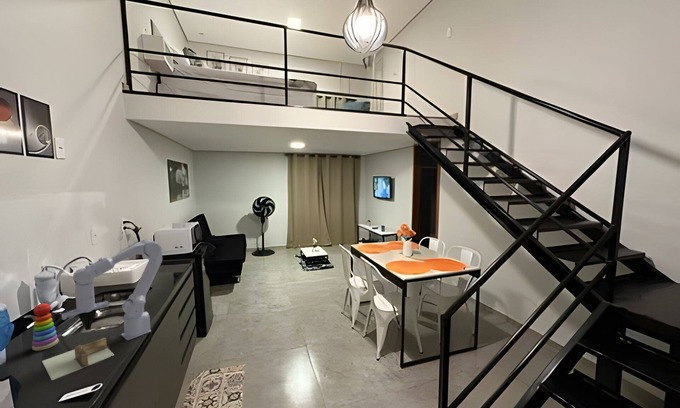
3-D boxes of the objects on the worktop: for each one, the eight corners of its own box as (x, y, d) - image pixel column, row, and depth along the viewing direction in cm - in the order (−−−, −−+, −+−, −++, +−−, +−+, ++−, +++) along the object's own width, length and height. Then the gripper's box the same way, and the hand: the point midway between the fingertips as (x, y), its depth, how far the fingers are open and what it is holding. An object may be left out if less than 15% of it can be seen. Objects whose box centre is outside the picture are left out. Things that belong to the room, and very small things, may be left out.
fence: (105, 347, 120) (104, 335, 120) (107, 348, 119) (106, 337, 119) (74, 358, 112) (73, 346, 112) (76, 360, 111) (75, 348, 111)
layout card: (101, 340, 125) (101, 339, 125) (115, 355, 115) (115, 354, 115) (42, 361, 110) (42, 360, 110) (52, 381, 100) (52, 380, 100)
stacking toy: (64, 340, 125) (60, 300, 124) (45, 351, 117) (42, 308, 116) (45, 341, 125) (42, 300, 123) (26, 351, 117) (22, 308, 115)
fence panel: (77, 358, 111) (76, 349, 111) (82, 357, 112) (81, 348, 112) (83, 365, 107) (82, 356, 107) (88, 363, 108) (87, 354, 108)
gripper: (63, 306, 108) (66, 340, 109) (110, 293, 120) (112, 324, 121) (59, 301, 112) (62, 334, 113) (104, 290, 124) (107, 319, 125)
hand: (87, 328), depth 117 cm, fingers closed
